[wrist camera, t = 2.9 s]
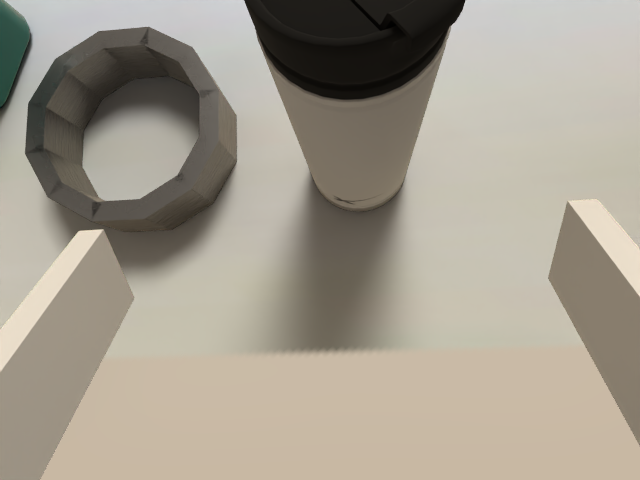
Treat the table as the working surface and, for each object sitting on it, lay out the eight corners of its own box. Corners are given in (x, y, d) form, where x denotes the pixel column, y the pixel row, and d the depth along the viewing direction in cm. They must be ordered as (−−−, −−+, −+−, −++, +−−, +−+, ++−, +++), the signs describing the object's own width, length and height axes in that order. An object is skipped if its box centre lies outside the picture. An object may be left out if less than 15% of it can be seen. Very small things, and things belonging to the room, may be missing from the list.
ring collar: (268, 104, 32) (254, 76, 28) (180, 262, 31) (153, 256, 27) (122, 35, 34) (91, -1, 30) (35, 182, 33) (-10, 165, 29)
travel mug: (355, 235, 30) (340, 103, 11) (293, 161, 32) (175, -81, 12) (429, 175, 30) (548, -66, 11) (364, 103, 32) (364, -233, 12)
